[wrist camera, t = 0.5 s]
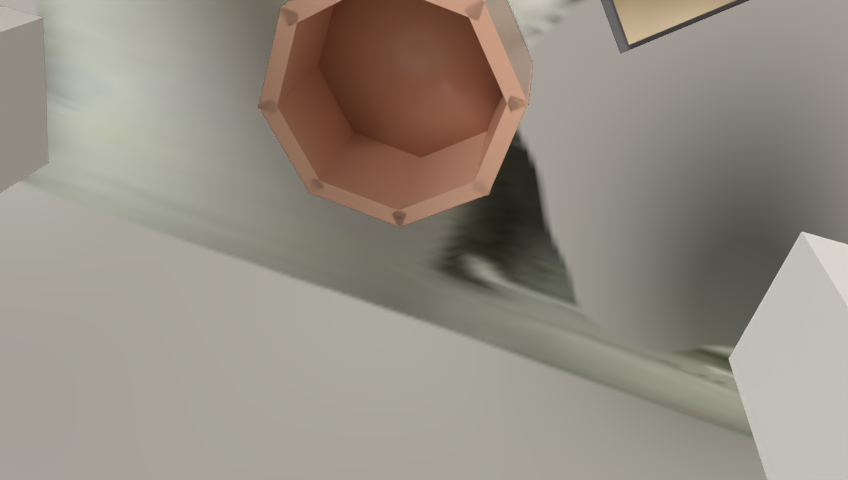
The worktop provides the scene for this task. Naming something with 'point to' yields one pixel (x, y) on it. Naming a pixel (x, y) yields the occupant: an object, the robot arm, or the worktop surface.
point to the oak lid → (659, 14)
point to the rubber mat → (624, 45)
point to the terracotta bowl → (396, 100)
